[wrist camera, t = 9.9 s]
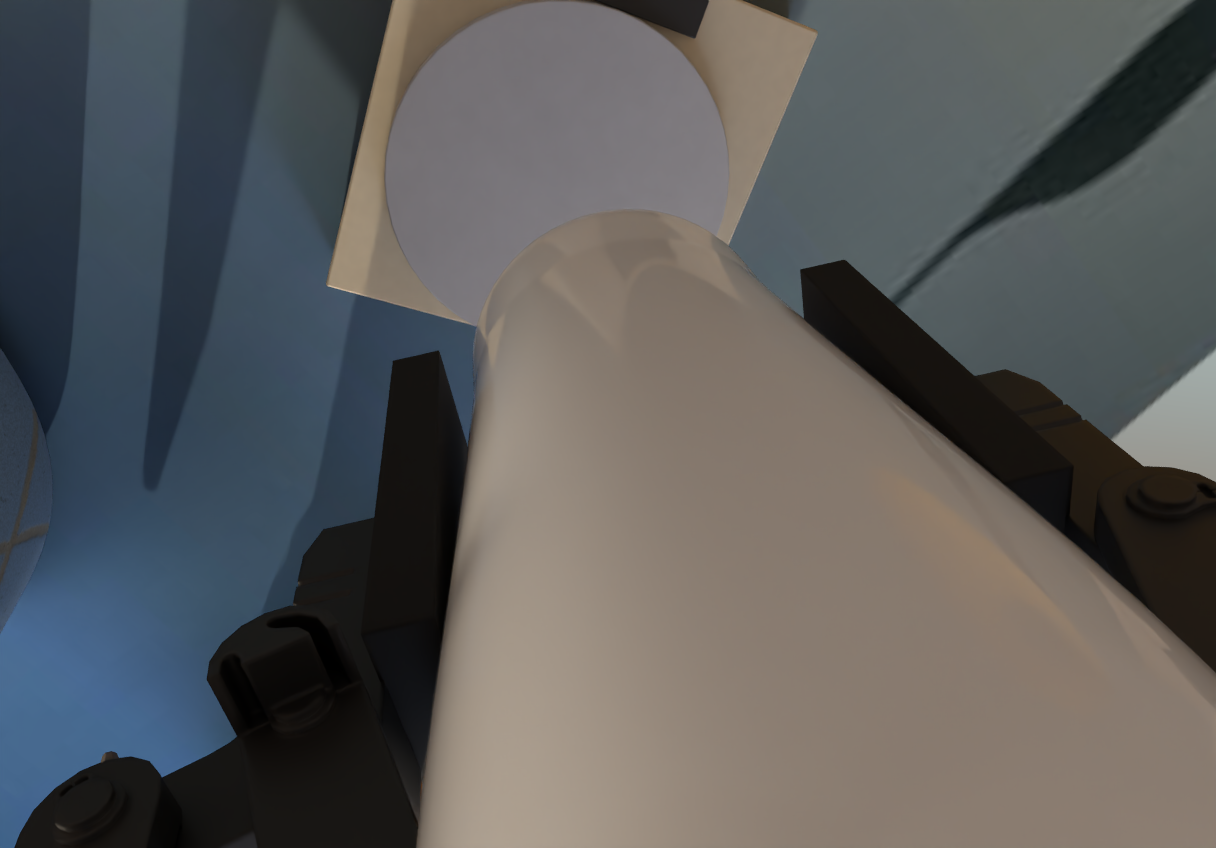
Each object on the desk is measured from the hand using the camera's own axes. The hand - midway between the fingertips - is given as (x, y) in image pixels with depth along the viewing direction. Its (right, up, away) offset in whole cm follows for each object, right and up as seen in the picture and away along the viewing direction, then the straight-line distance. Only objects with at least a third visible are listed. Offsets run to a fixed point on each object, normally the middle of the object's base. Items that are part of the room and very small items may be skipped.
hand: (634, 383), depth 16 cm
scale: (-2, +8, +13) cm, 15 cm away
